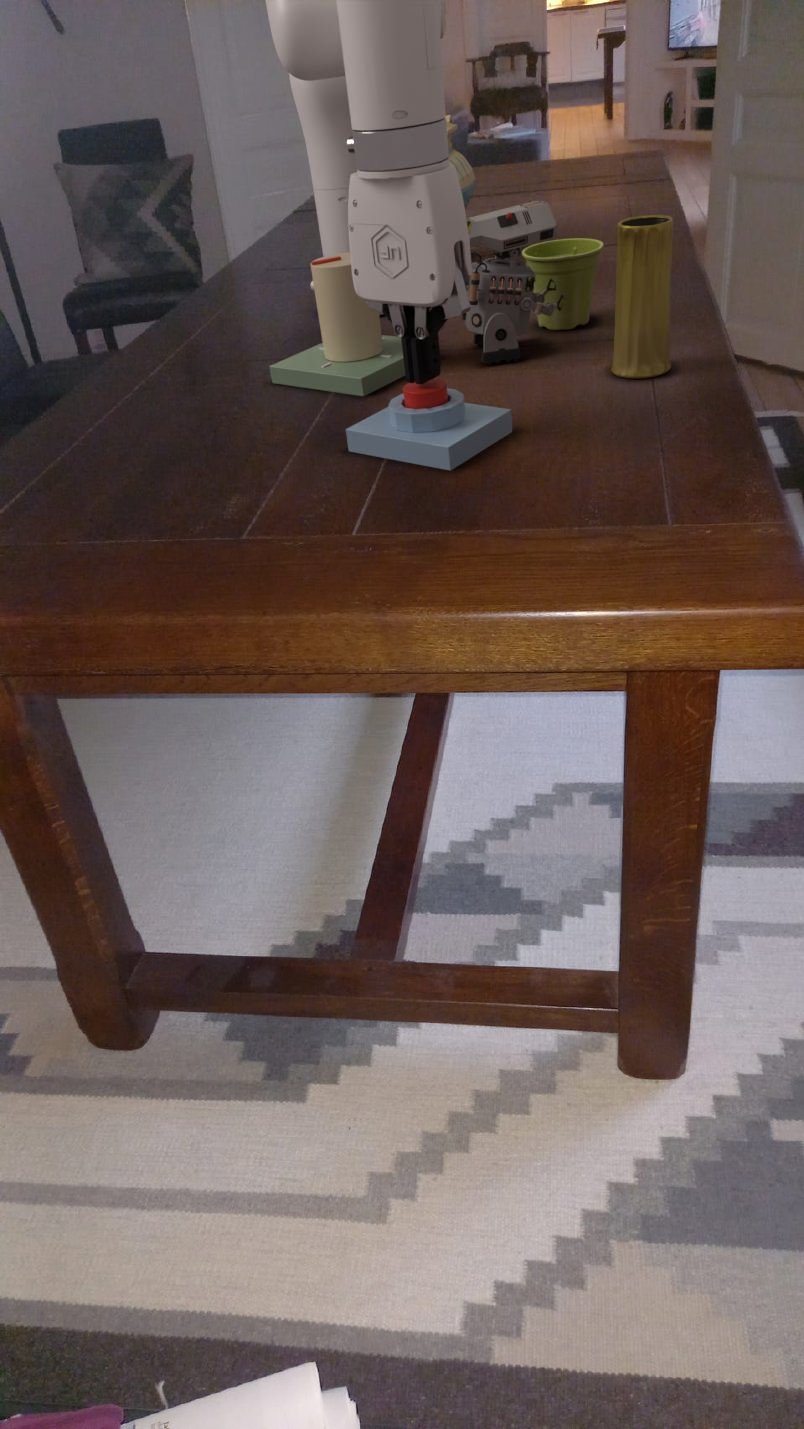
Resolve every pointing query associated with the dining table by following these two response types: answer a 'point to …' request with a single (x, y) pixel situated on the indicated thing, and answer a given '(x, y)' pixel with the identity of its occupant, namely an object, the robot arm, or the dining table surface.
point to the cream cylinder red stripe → (344, 312)
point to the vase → (643, 297)
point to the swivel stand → (342, 370)
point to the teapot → (460, 165)
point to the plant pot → (565, 278)
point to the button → (425, 394)
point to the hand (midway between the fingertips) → (423, 378)
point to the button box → (430, 432)
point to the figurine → (506, 278)
